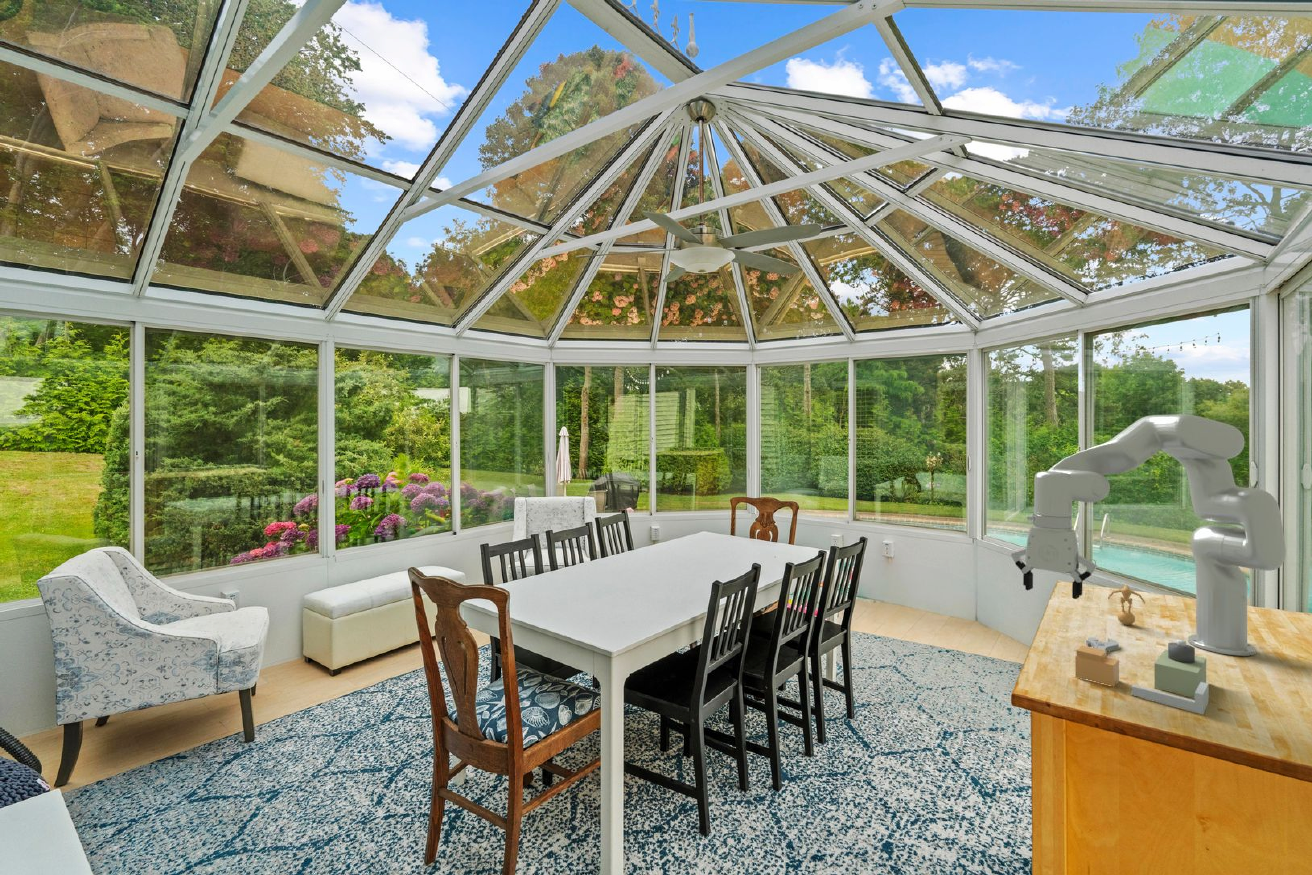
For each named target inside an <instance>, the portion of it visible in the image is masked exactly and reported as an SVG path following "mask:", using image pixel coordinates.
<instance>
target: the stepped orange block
mask: <svg viewBox="0 0 1312 875" xmlns="http://www.w3.org/2000/svg"><path fill="white" fill-rule="evenodd" d="M1107 654H1108V652H1107V651H1105V650H1101V649H1096V648H1092V647H1091V646H1088V645H1082V644H1081V646H1080V647H1079V648H1077V649H1076V655H1075V658H1074V662H1075V664H1074V665H1075V678H1076V677H1079V678H1082V679H1081V680H1083V679H1088V680H1092V681H1096V682H1099V683H1104V684H1107V685H1111V686H1113V687H1114V688H1115V686H1116V685H1117V684H1118V683H1119V682H1118V681H1120V660H1119V658H1113V657H1110V656H1108V655H1107ZM1079 678H1078V679H1079ZM1117 682H1118V683H1117ZM1116 683H1117V684H1116ZM1115 684H1116V685H1115ZM1114 685H1115V686H1114ZM1113 687H1112V688H1113Z"/></svg>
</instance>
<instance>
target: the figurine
mask: <svg viewBox="0 0 1312 875" xmlns="http://www.w3.org/2000/svg"><path fill="white" fill-rule="evenodd" d="M1115 593H1121V594H1122V596H1120V598H1119V600H1120V603H1121V611H1119V612H1118V614H1117V620H1118V621H1119V622H1120V623H1121V624H1122V625H1125V626H1130V625H1134V623H1135V622H1136V617H1135V615H1134V614H1133V612H1131V609H1132V605H1133V598H1132V597H1131V595H1132V594H1133V595H1135V596H1138V597H1139V599H1140V600H1141V601H1142V602H1143V604H1144V605H1146V601H1145V599H1144V598H1143V597H1142V595H1141V594H1139V593H1137V592H1136V591H1134V590H1131V589H1130V587H1129V585H1128V584H1124V586H1123V588H1121V589H1117V590H1113V591H1112V592H1111V593H1110V594H1109V595H1108V597H1107V599H1108V600H1110V598H1111V597H1112V596H1114V594H1115ZM1126 602H1127V603H1128V610H1125V603H1126Z"/></svg>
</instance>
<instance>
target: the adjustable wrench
mask: <svg viewBox="0 0 1312 875" xmlns="http://www.w3.org/2000/svg"><path fill="white" fill-rule="evenodd" d="M1085 646H1088V647H1091V646H1092V647H1093V648H1096V649H1101V650H1105V651H1108V652H1110V651H1109V650H1111V651H1116V650H1119V646H1120V645H1119V641H1117V640H1114V639H1113V638H1112V639H1111V638H1107V641H1100V640H1099V639H1098V638H1096V637H1095V636H1091V637H1089V638H1088V639H1085Z"/></svg>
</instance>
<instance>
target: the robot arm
mask: <svg viewBox="0 0 1312 875" xmlns="http://www.w3.org/2000/svg"><path fill="white" fill-rule="evenodd" d="M1244 447H1245V438H1244V435H1243V433H1242V431H1240V430H1239V429H1238V428H1237V427H1236V426H1234V425H1231V424H1228V423H1226V422H1221V421H1218V420H1213V419H1210V418H1207V417H1202V416H1199V415H1193V414H1186V413H1185V414H1184V413H1183V414H1182V413H1181V414H1178V413H1177V414H1176V413H1175V414H1152V415H1146V416H1144V417H1140V418H1139V419H1137V420H1136V421H1134V422H1133V423H1132V424H1131V425H1129V426H1127V427H1126V428H1125V429H1123V430H1122V431H1121V432H1119V433H1118V434H1117V435H1114V437H1112V438H1111V439H1110V440H1108V441H1106V442H1104V443H1101V444H1098V445H1095V446H1092V447H1090V448H1087V449H1084V450H1082V451H1078V452H1076V453H1074V454H1071V455H1069V456H1067V457H1064V458H1063V459H1061V460H1060V461H1059V462H1057V463H1055V464H1054V465H1053V466H1052V467H1050V468H1049V469H1048V470H1047V471H1045V470H1044V471H1038V472H1037V473H1036V474H1035V475H1034V479H1033V480H1034V481H1033V482H1034V486H1033V487H1034V489H1033V491H1034V495H1033V502H1034V503H1033V514H1032V515H1027V519H1026V520H1027V522H1031V523H1032V526H1029V529H1028V533H1027V539H1026V545H1025V546H1026V547H1025V549H1021V550H1018V551H1015V552H1012V553H1011V557H1012V560H1013V561H1014V563H1015V566H1016V567H1018V569H1019V570H1020V571H1021V573H1022V574H1023V575H1022V578H1023V580H1022V581H1023V584H1022V585H1023V586H1025V591H1030V590H1032V589H1033V588H1034V583H1033V582H1034V572H1032V570H1034V569H1037V570H1044V571H1047V572H1055V573H1062V574H1069V575H1070V576H1071V577H1072V579H1073V581H1072V582H1071V584H1072V585H1071V586H1072V587H1071V588H1072V590H1071V591H1072V594H1071V597H1072V599H1074V600H1078V599H1079V598H1080V597H1081V596H1082V595H1083V581H1085V580H1087V579H1088V578H1089V577H1091V576H1092V574H1093V573H1094V572H1095V571H1096V569H1097V567H1098V565H1097V563H1096V564H1095V563H1094V562H1093V561H1090V560H1089V559H1088V558H1085V557H1084V556H1081V555H1080V554H1079V553H1080V552H1079V545H1078V544H1079V543H1078V539H1077V534H1076V530H1075V529H1072V526H1073V502H1079V503H1097V502H1100V501H1103V500H1104V499H1105V498H1107V496H1108V495H1109V493H1110V490H1111V485H1110V482H1109V480H1108V478H1106V477H1105V476H1106V475H1115V474H1120V473H1121V474H1122V473H1126V472H1130V471H1133V470H1135V469H1137V468H1139V467H1140V466H1141V465H1143V464H1144V463H1146V461H1147V460H1149V459H1151V458H1152V457H1153V456H1155V455H1156V454H1157V453H1159V452H1160V451H1162V452H1163V453H1165V455H1168V456H1170V457H1172V458H1174V459H1175V460H1176V461H1178V462H1179V463H1180V464H1181V465H1182V467H1183V468H1184V470H1185V472H1186V475H1187V480H1188V486H1189V494H1190V498H1191V503H1192V508H1193V511H1194V512H1193V513H1194V514H1195V515H1196V516H1197V517H1198V518H1199V519H1201V520H1204V521H1207V522H1213V523H1217V525H1216V524H1208V525H1202V526H1199V527H1197V528H1195V529H1194V531H1193V532H1192V534H1191V536H1190V546H1191V547H1190V548H1191V551H1192V555H1193V559H1194V564H1195V565H1194V566H1195V591H1196V592H1195V602H1196V603H1195V606H1196V607H1195V608H1196V610H1195V611H1196V612H1195V614H1196V616H1195V620H1196V621H1195V624H1196V625H1195V628H1196V630H1195V633H1196V634H1191V635H1189V636H1187V638H1188V639H1187V641H1188V642H1189V643H1190V644H1191V646H1192V645H1193V647H1195V648H1196V647H1197V648H1200V649H1203V650H1205V651H1209V652H1212V653H1218V654H1223V655H1229V656H1239V657H1246V656H1247V657H1249V656H1250V655H1251V656H1254V654H1255V655H1256V654H1257V649H1256V647H1255V646H1254V645H1251V644H1250V643H1248V583H1247V579H1246V577H1245V575H1244V573H1243V571H1242V569H1241V568H1244V569H1245V568H1246V569H1250V570H1251V569H1252V570H1257V571H1265V572H1267V571H1275V570H1279V568H1280V567H1282V565H1283V564H1284V562H1285V559H1286V552H1287V551H1286V543H1285V542H1286V540H1285V535H1284V529H1283V528H1284V527H1283V522H1282V515H1281V511H1280V505H1279V504H1278V501H1277V500H1276V498H1275V497H1274V496H1273V495H1272V494H1271V493H1270V492H1268V491H1266V490H1264V489H1260V488H1254V487H1241V486H1238V485H1236V483H1235V478H1234V473H1233V470H1232V466H1231V464H1230V462H1229V461H1228V460H1230V459H1234V458H1235V457H1237V456H1238V455H1240V454H1241V452H1243V450H1244ZM1218 523H1220V524H1227V525H1235V526H1240V527H1235V526H1226V525H1218ZM1241 526H1242V528H1241ZM1023 556H1025V562H1023V561H1022V559H1021V557H1023ZM1080 564H1081V565H1083V566H1085V567H1086V569H1085V571H1084V572H1083V573H1081V572H1080V571H1079V568H1080ZM1240 567H1241V568H1240Z"/></svg>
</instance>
